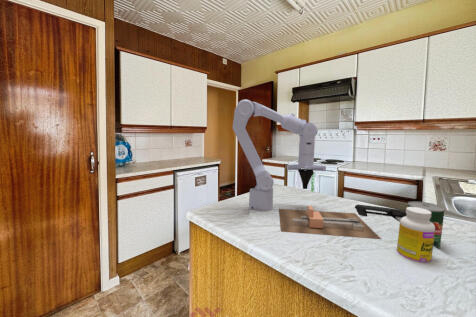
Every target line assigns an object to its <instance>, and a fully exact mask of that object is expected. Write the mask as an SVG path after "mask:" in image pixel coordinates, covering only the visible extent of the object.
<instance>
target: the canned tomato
mask: <svg viewBox="0 0 476 317" xmlns="http://www.w3.org/2000/svg"><path fill="white" fill-rule="evenodd" d="M407 207H418V208H423V209H426V210H429V211H430V212H431V218H430V219H429V221H430V222H432V223H433V224H434V226H435V234H434V242H433V247H435V248H437V250H440V249H441V243H442V235H443V234H442V233H443V227H444V226H443V225H444V220H445V219H444V217H445V210H446V208H444V207H443V206H441V205H438V204H435V203H430V202H426V201H408V202H407Z"/></svg>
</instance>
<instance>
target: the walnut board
mask: <svg viewBox="0 0 476 317" xmlns="http://www.w3.org/2000/svg"><path fill="white" fill-rule="evenodd" d="M317 211H318V212H319V213H320V214H321V216H322V217H327V218H343V219H347V218H357V219H358V220H359V221H360V223H361V224H362V225H363V226H364V231H353V230H352V229H339V228H325V227H323V228H312V227H309V226H297V225H293V224H292V219H301V216H306V214H307V209H306V210H304V209H292V208H291V209H289V208H288V209H287V208H278V212H279V213H278V215H279V223H280V224H279V227H280V233H281V232H283V233H285V232H286V233H296V234H309V235H319V236H320V235H321V236H332V237H333V236H335V237H344V238H345V237H346V238H359V239H373V240H382V237H380V236H379V235H378V234H377V232H375V231H374V230H373V229H372V228H371V227H370V226H369V225H368V224H367V223H366V222H365V221H363V219H361V217H359V216H358V214H356V213H355V212H338V211H323V210H322V211H321V210H317Z"/></svg>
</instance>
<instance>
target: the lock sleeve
mask: <svg viewBox="0 0 476 317" xmlns="http://www.w3.org/2000/svg"><path fill="white" fill-rule="evenodd" d="M306 210H307V214H306V216H308V218H309V220H310V223H309V227H312V228H323V222H324V219H323V218H322V216H321V214H320V213H319V212H318V211H319V210H314V208H313V206H312V205H307V209H306Z"/></svg>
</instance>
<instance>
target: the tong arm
mask: <svg viewBox="0 0 476 317" xmlns="http://www.w3.org/2000/svg"><path fill="white" fill-rule="evenodd" d="M322 218H323V219H324V221H337V222H352V223H360V221H359V220H358V219H357V218H347V219H343V218H327V217H322ZM301 219H307V220H309V218H308V216H301Z"/></svg>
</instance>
